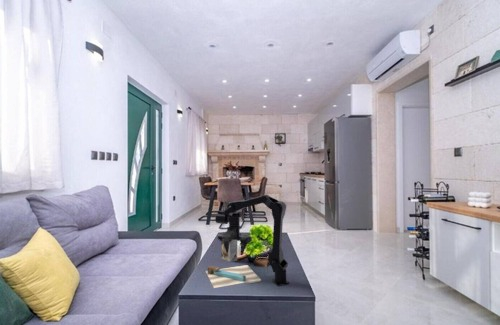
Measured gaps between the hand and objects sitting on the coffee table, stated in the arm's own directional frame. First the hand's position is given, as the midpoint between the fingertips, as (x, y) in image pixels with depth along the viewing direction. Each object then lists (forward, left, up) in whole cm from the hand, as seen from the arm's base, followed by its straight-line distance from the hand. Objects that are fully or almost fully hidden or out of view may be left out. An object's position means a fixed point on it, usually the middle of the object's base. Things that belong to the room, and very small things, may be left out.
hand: (234, 253), depth 137 cm
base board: (-3, +2, -11) cm, 11 cm away
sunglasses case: (+11, -22, -12) cm, 27 cm away
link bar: (-5, +4, -10) cm, 12 cm away
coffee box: (+22, -3, -11) cm, 25 cm away
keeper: (+2, +10, -10) cm, 14 cm away
